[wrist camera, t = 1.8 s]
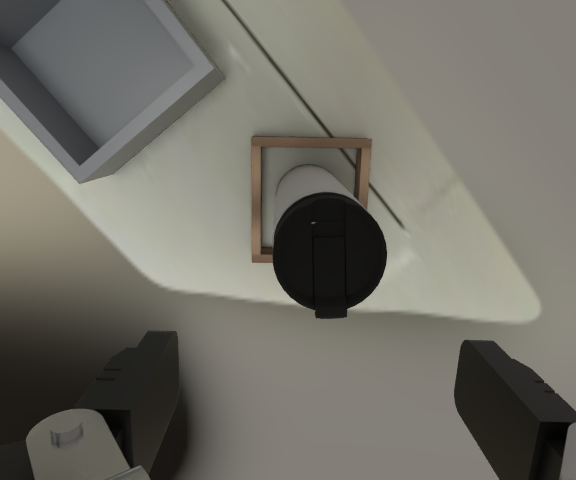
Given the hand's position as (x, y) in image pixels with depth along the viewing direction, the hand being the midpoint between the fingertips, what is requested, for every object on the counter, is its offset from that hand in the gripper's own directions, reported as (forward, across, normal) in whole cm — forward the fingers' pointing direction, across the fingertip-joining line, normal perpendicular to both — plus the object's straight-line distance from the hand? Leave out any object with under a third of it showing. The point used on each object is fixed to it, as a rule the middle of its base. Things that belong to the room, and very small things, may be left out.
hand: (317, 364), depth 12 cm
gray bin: (+30, +16, -12) cm, 36 cm away
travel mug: (+31, -1, 0) cm, 31 cm away
